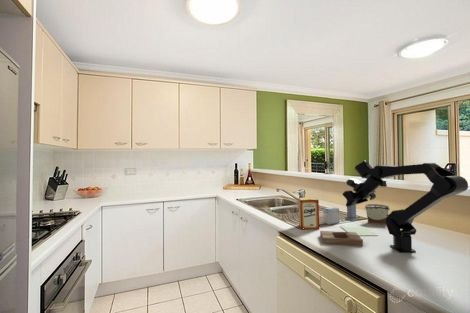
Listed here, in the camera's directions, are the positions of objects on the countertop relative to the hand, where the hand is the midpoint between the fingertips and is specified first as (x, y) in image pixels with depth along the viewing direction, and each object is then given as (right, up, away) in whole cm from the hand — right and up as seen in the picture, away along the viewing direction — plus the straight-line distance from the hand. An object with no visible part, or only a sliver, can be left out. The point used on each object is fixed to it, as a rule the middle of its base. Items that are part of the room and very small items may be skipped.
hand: (348, 205), depth 117 cm
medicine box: (-2, -14, +16) cm, 21 cm away
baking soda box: (-18, -14, +9) cm, 24 cm away
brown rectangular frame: (-10, -14, -12) cm, 21 cm away
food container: (+23, -13, +14) cm, 30 cm away
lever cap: (+1, -7, -1) cm, 7 cm away
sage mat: (+5, -13, 0) cm, 14 cm away
